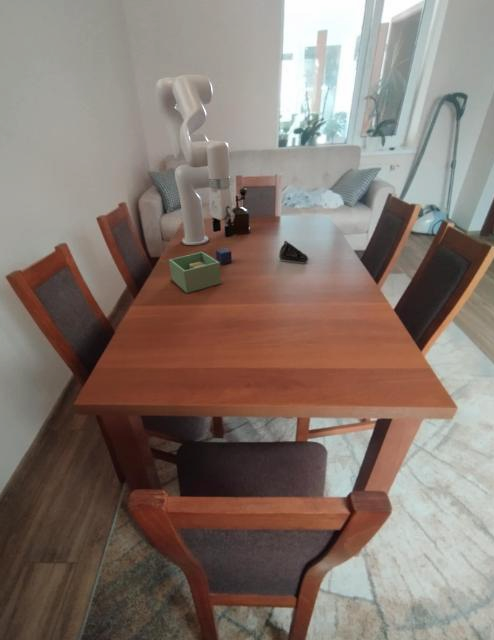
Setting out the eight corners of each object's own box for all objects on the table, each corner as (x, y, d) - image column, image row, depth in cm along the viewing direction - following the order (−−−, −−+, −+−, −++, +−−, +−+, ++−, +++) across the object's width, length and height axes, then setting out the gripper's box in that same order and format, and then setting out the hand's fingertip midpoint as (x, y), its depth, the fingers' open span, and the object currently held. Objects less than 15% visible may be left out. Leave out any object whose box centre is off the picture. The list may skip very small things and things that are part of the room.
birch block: (190, 276, 123) (189, 263, 120) (201, 273, 125) (200, 261, 122) (195, 280, 120) (194, 267, 117) (206, 277, 122) (205, 265, 119)
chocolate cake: (313, 259, 134) (297, 234, 133) (310, 260, 128) (292, 234, 127) (294, 273, 139) (278, 250, 138) (290, 275, 133) (273, 250, 132)
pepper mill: (251, 233, 163) (250, 193, 152) (228, 235, 163) (227, 194, 152) (247, 225, 175) (246, 187, 164) (226, 226, 175) (224, 188, 164)
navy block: (216, 261, 136) (215, 250, 133) (226, 259, 137) (225, 248, 134) (221, 264, 132) (221, 253, 130) (231, 262, 134) (231, 251, 131)
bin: (172, 280, 123) (168, 259, 118) (204, 271, 128) (202, 251, 123) (186, 293, 114) (183, 271, 109) (221, 283, 118) (219, 262, 114)
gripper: (199, 182, 122) (204, 231, 132) (222, 188, 110) (225, 240, 120) (217, 180, 124) (220, 227, 135) (241, 185, 112) (242, 237, 123)
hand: (223, 233), depth 127 cm, fingers open, 9 cm apart
